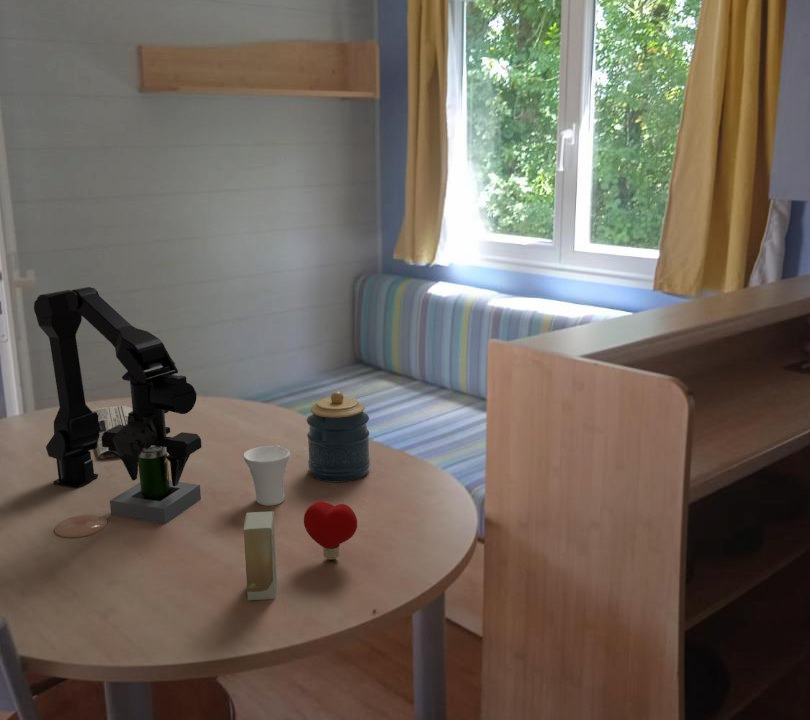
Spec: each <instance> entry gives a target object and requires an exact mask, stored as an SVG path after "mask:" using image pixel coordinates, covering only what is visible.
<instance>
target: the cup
mask: <svg viewBox="0 0 810 720" xmlns="http://www.w3.org/2000/svg"><path fill="white" fill-rule="evenodd" d="M290 456H291V451H290V450H289V449H287V448H286V447H282V446H280V445H279V444H276V445H266V446H265V445H263V446H257V447H253V448H250V449H248V450H246V451H245V452H244V454H243V455H242V457H243V459H244V462H245V464H246V465H247V467H248V469H249V472H250V475H251V477H252V481H253V485H254V486H253V487H254V489H255V499H256V500H255V502H257V503H258V504H259V505H261V506H266V507H267V506H269V507H270V506H277V505H279V504H281V503H283V502H284V501H285V498H286V497H285V489H284V488H285V483H284V482H285V481H284V479H285V473H286V467H287V463H288V461H289V458H290Z"/></svg>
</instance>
